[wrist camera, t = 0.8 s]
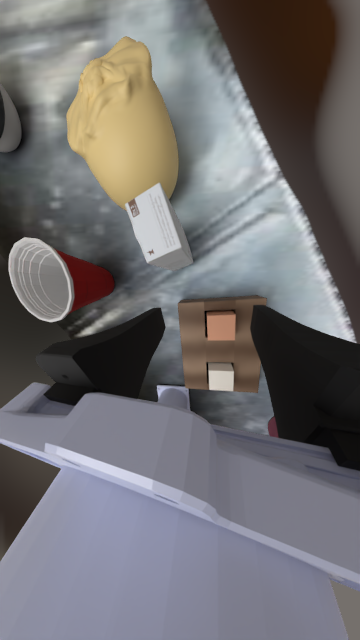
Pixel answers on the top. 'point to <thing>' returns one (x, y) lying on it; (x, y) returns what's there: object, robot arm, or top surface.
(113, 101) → the sculpture
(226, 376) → the cream key
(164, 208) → the skincare box
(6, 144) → the pump dispenser
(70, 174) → the top surface
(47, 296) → the plastic cup
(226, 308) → the walnut panel
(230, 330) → the terracotta key
